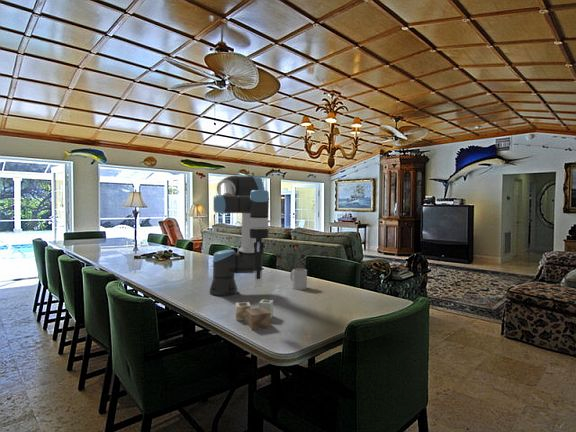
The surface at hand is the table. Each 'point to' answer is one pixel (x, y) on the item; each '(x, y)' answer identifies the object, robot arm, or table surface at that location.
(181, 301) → the table surface
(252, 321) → the walnut block
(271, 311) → the pale square cup
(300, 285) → the mug
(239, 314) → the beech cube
